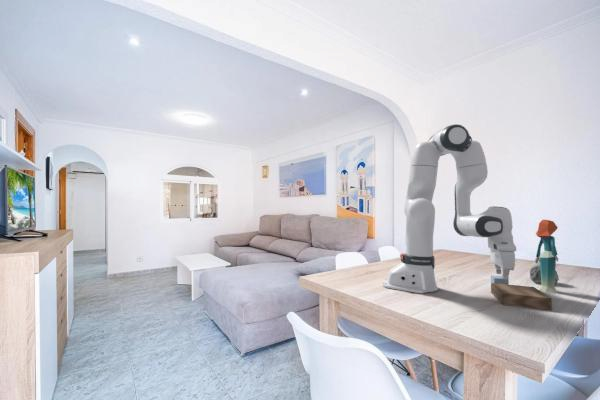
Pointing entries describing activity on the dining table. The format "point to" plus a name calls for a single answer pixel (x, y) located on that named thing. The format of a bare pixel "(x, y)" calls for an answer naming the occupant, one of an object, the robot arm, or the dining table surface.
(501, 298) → the walnut pedestal
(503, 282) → the slate block
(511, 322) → the dining table surface
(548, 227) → the sculpture
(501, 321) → the dining table surface
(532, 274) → the stone
